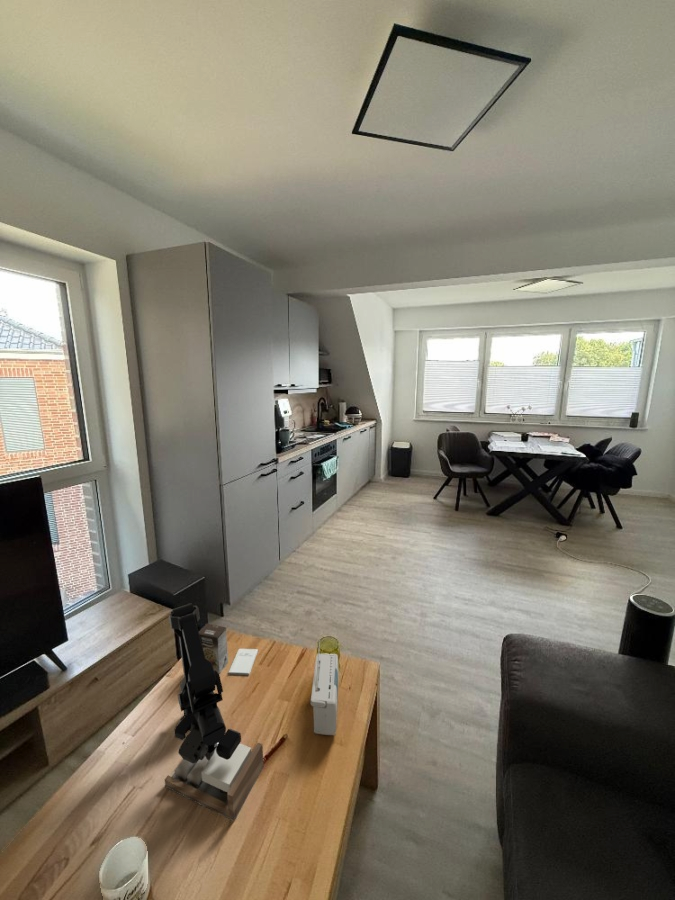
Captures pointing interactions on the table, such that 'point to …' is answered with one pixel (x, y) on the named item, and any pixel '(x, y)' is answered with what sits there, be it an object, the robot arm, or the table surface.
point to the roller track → (194, 788)
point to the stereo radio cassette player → (325, 693)
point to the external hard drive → (243, 662)
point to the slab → (225, 768)
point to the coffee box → (215, 645)
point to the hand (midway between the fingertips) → (209, 759)
